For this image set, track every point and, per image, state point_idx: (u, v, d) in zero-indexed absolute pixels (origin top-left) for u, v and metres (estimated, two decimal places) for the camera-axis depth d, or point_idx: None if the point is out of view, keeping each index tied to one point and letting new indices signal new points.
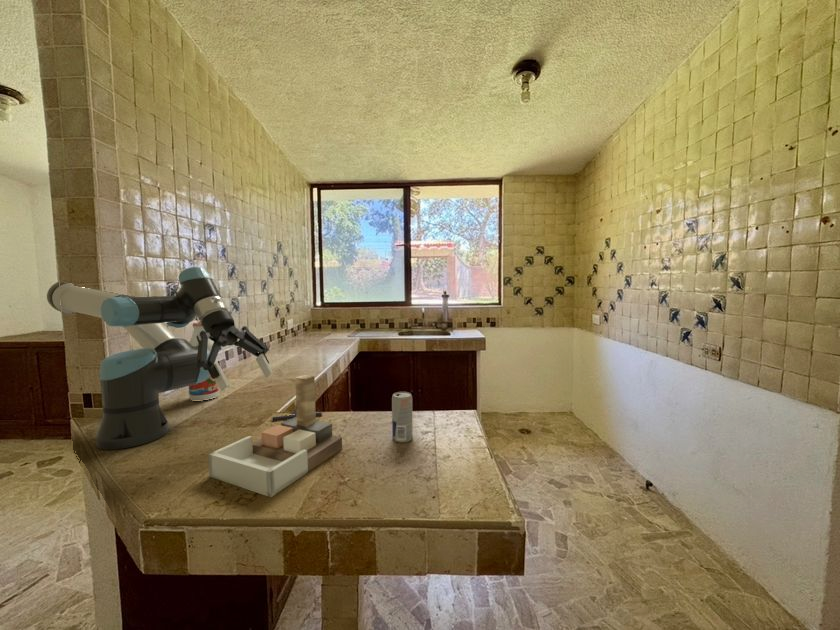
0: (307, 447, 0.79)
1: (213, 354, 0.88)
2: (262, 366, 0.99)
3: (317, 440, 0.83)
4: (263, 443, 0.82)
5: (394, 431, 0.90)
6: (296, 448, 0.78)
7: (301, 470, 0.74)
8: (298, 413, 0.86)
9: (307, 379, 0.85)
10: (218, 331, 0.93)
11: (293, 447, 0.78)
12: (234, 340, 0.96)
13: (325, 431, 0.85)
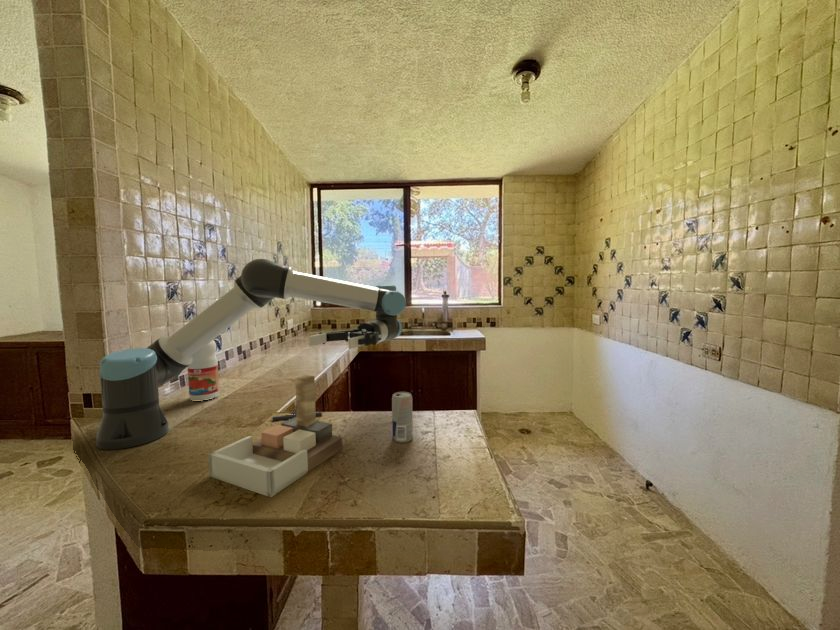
0: (307, 447, 0.79)
1: None
2: (319, 338, 1.00)
3: (317, 440, 0.83)
4: (263, 443, 0.82)
5: (394, 431, 0.90)
6: (296, 448, 0.78)
7: (301, 470, 0.74)
8: (298, 413, 0.86)
9: (307, 379, 0.85)
10: None
11: (293, 447, 0.78)
12: None
13: (325, 431, 0.85)
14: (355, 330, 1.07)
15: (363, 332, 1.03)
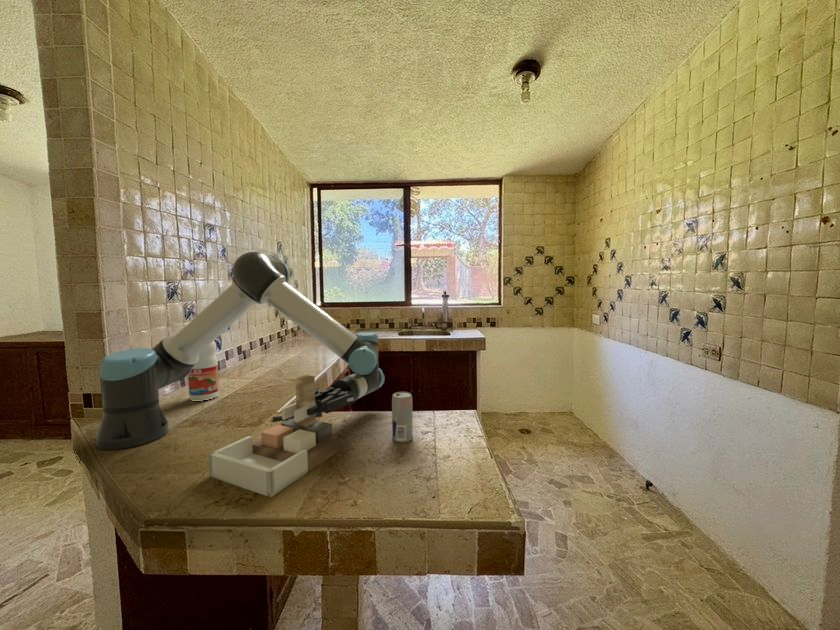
0: (307, 447, 0.79)
1: None
2: (294, 408, 0.86)
3: (317, 440, 0.83)
4: (263, 443, 0.82)
5: (394, 431, 0.90)
6: (296, 448, 0.78)
7: (301, 470, 0.74)
8: None
9: (307, 379, 0.85)
10: None
11: (293, 447, 0.78)
12: None
13: (325, 431, 0.85)
14: (331, 390, 0.97)
15: (330, 394, 0.93)
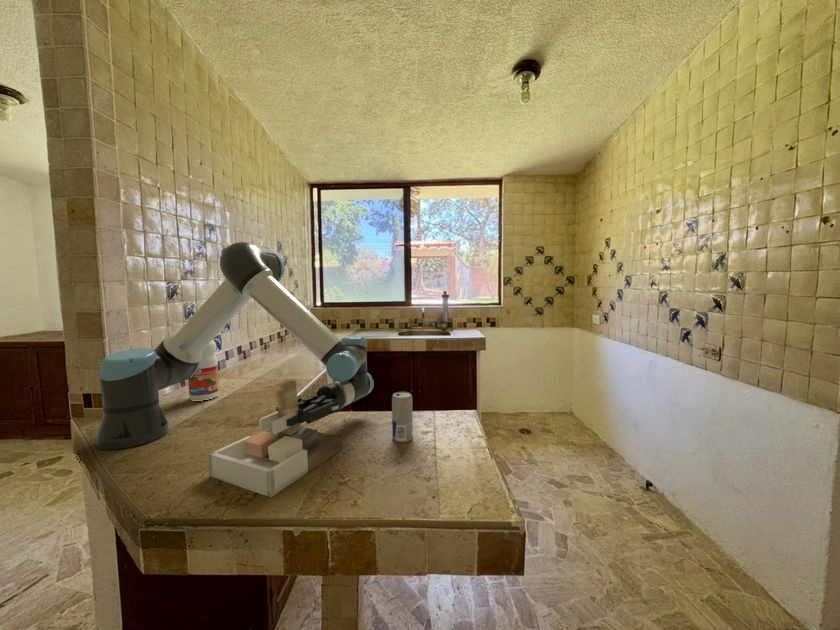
0: None
1: None
2: (273, 418, 0.80)
3: None
4: (248, 452, 0.78)
5: (394, 431, 0.90)
6: (281, 458, 0.74)
7: (301, 470, 0.74)
8: None
9: (287, 385, 0.79)
10: None
11: (279, 457, 0.74)
12: None
13: (310, 439, 0.80)
14: (315, 397, 0.91)
15: (313, 402, 0.87)
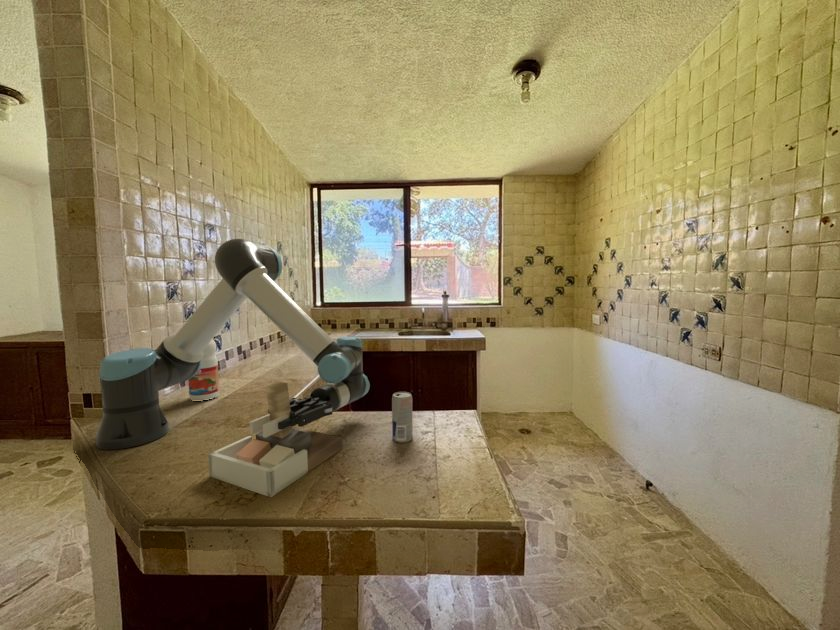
0: None
1: None
2: (264, 421, 0.78)
3: None
4: None
5: (394, 431, 0.90)
6: None
7: (301, 470, 0.74)
8: None
9: (279, 388, 0.77)
10: None
11: None
12: None
13: (302, 442, 0.78)
14: (308, 399, 0.89)
15: (306, 405, 0.85)
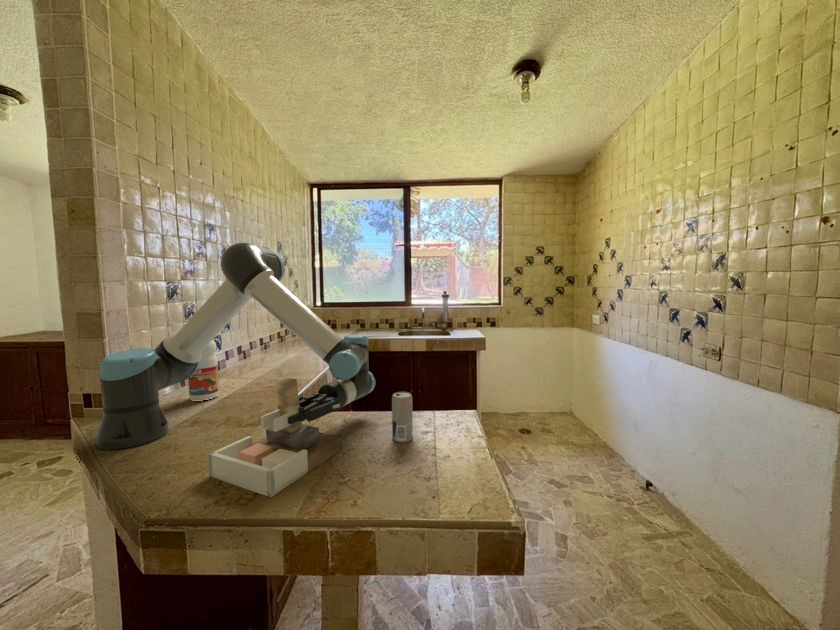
0: None
1: None
2: (275, 416, 0.80)
3: (304, 447, 0.79)
4: None
5: (394, 431, 0.90)
6: None
7: (301, 470, 0.74)
8: None
9: (288, 384, 0.80)
10: None
11: None
12: None
13: (311, 437, 0.80)
14: (316, 395, 0.91)
15: (315, 400, 0.88)
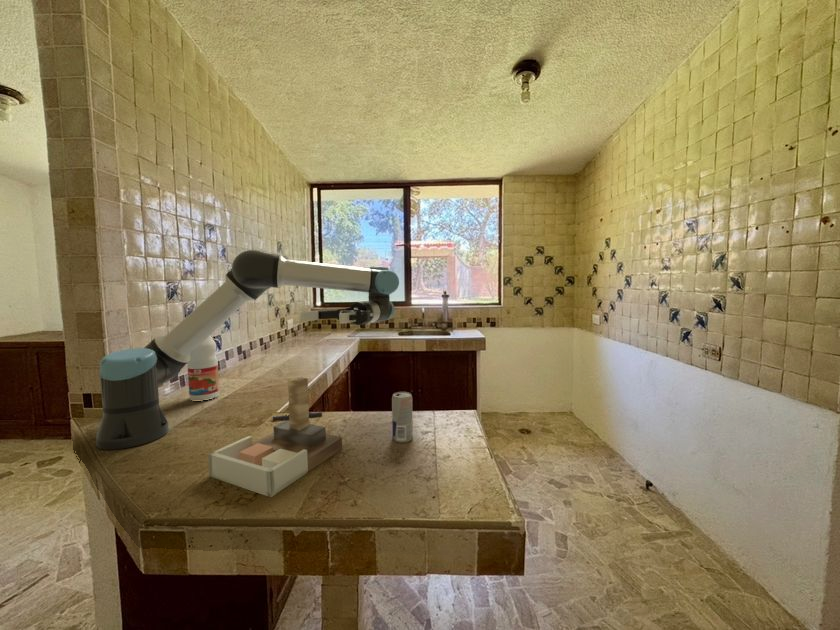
0: None
1: None
2: (310, 315, 1.01)
3: (310, 444, 0.81)
4: None
5: (394, 431, 0.90)
6: None
7: (301, 470, 0.74)
8: (291, 416, 0.84)
9: (300, 381, 0.83)
10: None
11: None
12: None
13: (318, 435, 0.83)
14: (347, 309, 1.08)
15: (355, 310, 1.04)
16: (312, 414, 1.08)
